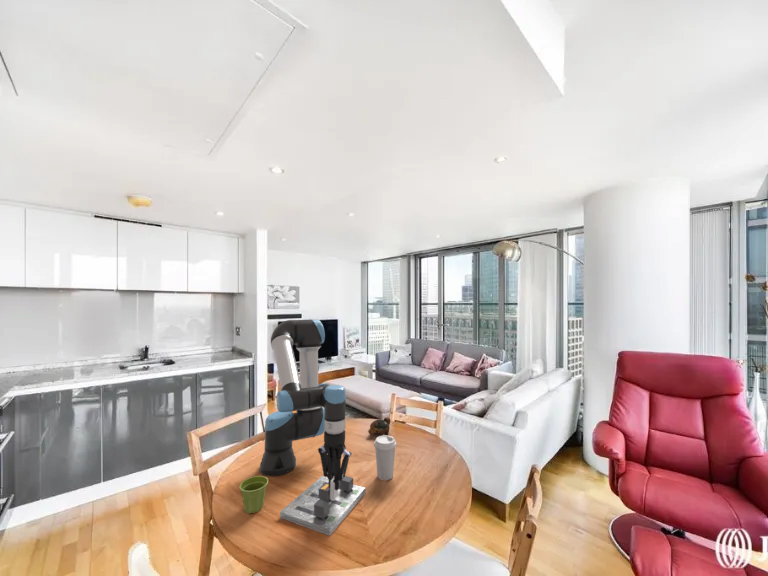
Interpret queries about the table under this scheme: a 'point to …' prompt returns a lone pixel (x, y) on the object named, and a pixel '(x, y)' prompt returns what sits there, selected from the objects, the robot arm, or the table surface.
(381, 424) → the decorative turtle
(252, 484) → the plant pot
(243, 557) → the table surface
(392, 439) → the coffee cup
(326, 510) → the block
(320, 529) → the panel
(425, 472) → the table surface
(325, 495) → the breaker
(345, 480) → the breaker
